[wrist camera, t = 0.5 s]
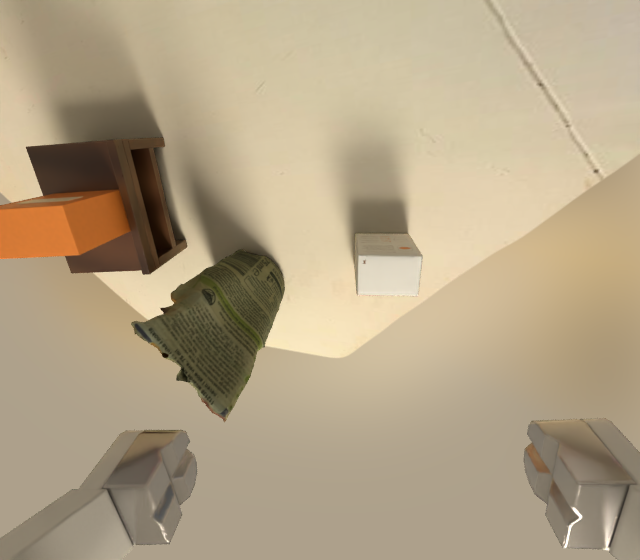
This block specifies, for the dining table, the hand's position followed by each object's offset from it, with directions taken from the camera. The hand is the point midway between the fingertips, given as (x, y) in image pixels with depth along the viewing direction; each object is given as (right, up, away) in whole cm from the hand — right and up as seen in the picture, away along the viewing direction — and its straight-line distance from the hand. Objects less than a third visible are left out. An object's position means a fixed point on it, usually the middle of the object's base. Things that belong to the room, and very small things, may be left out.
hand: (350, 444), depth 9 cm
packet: (-29, +12, +36) cm, 48 cm away
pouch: (-12, +4, +49) cm, 51 cm away
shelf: (-28, +16, +45) cm, 56 cm away
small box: (+9, +8, +46) cm, 47 cm away
